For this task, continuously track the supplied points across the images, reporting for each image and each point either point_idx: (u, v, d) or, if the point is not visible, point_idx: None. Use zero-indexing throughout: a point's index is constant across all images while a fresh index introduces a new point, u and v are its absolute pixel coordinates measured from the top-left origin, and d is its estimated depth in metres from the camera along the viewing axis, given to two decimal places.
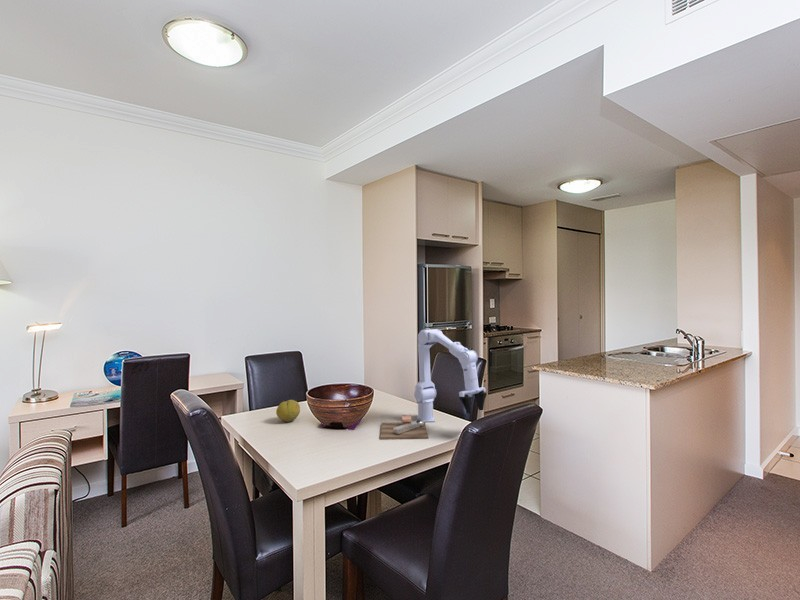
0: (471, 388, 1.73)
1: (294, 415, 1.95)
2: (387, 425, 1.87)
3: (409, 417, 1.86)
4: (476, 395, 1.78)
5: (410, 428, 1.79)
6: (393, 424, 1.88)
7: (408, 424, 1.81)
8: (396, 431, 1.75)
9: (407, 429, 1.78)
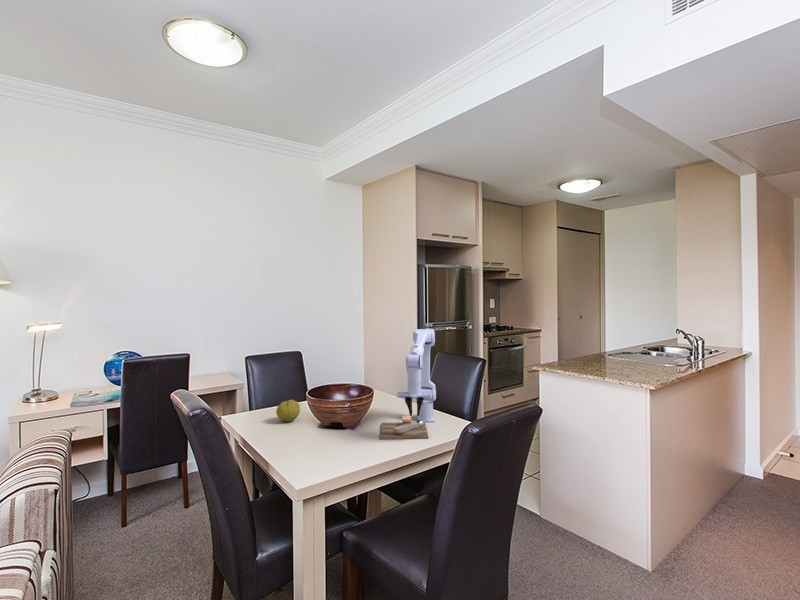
0: (408, 392, 1.72)
1: (294, 415, 1.95)
2: (387, 425, 1.87)
3: (409, 417, 1.86)
4: None
5: (410, 428, 1.79)
6: (393, 424, 1.88)
7: (408, 424, 1.81)
8: (396, 431, 1.75)
9: (407, 429, 1.78)
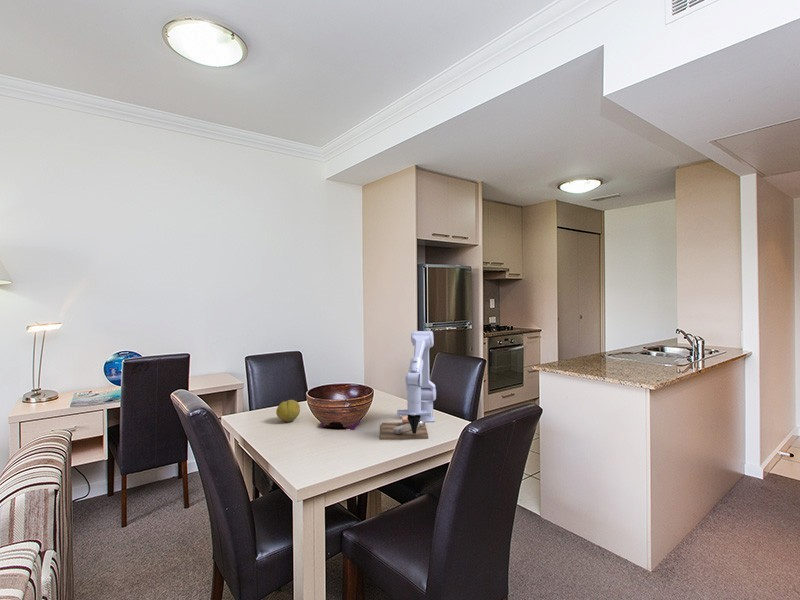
0: (408, 410, 1.72)
1: (294, 415, 1.95)
2: (387, 425, 1.87)
3: None
4: (415, 417, 1.75)
5: (410, 428, 1.79)
6: (393, 424, 1.88)
7: (408, 424, 1.81)
8: (396, 431, 1.75)
9: (407, 429, 1.78)
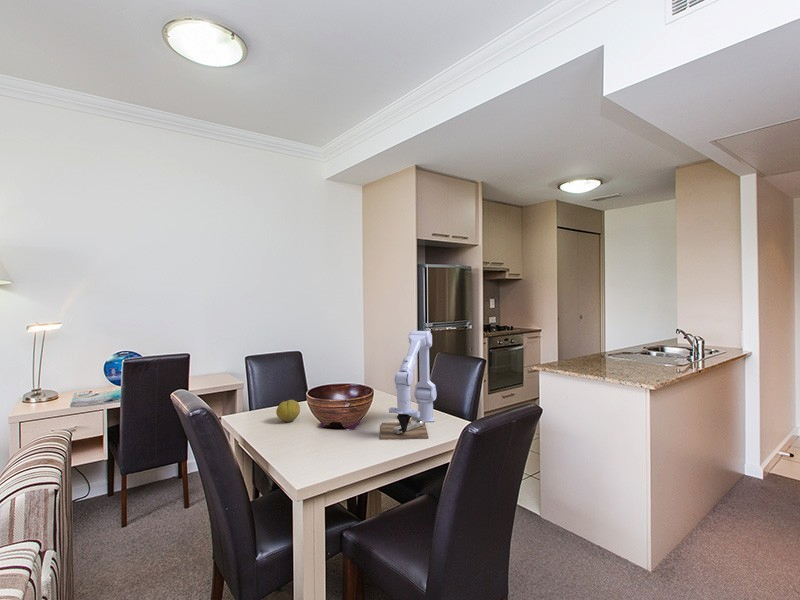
0: (397, 408, 1.75)
1: (294, 415, 1.95)
2: (387, 425, 1.87)
3: None
4: None
5: (410, 428, 1.79)
6: (393, 424, 1.88)
7: (408, 424, 1.81)
8: (396, 431, 1.75)
9: (407, 429, 1.78)
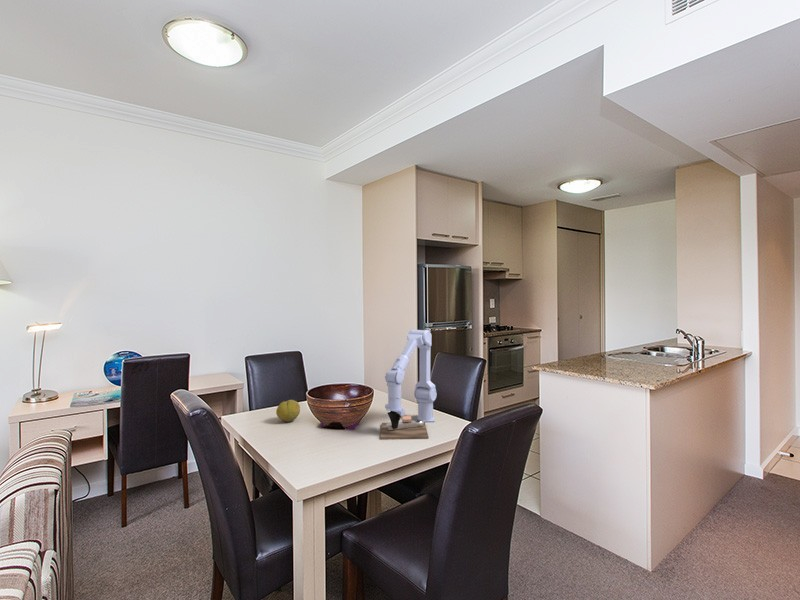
0: None
1: (294, 415, 1.95)
2: None
3: (409, 417, 1.86)
4: None
5: (404, 426, 1.82)
6: None
7: (404, 422, 1.83)
8: (387, 427, 1.80)
9: (400, 427, 1.81)
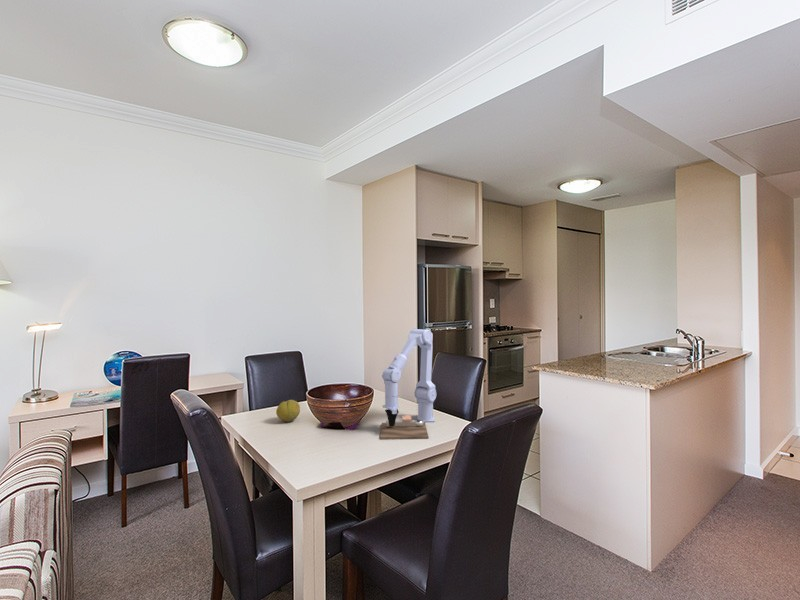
0: None
1: (294, 415, 1.95)
2: None
3: (409, 417, 1.86)
4: None
5: (402, 425, 1.84)
6: None
7: None
8: None
9: (398, 425, 1.84)
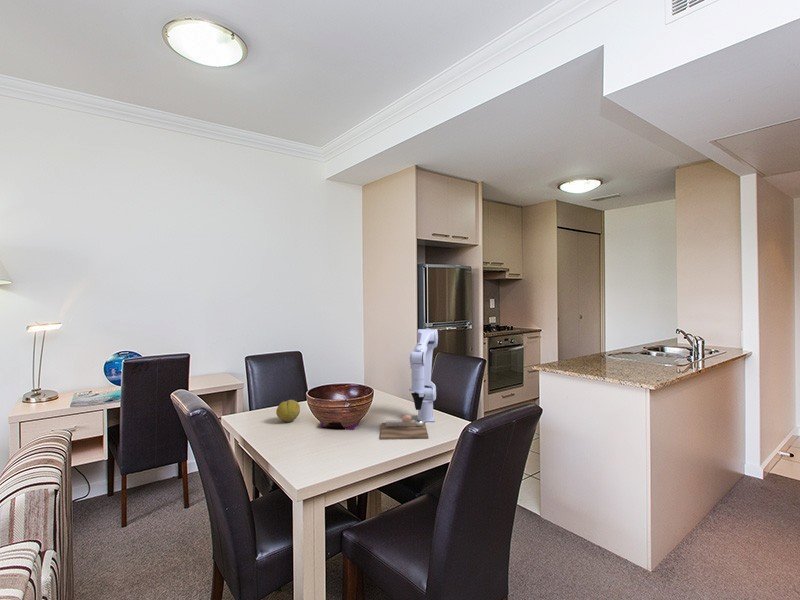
0: None
1: (294, 415, 1.95)
2: None
3: (409, 417, 1.86)
4: None
5: (402, 425, 1.84)
6: None
7: None
8: None
9: (398, 425, 1.84)
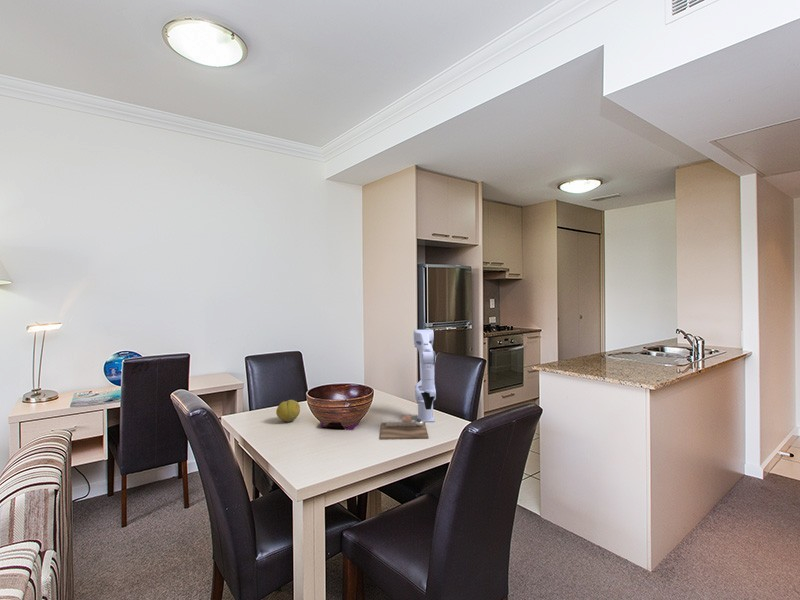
0: None
1: (294, 415, 1.95)
2: None
3: (409, 417, 1.86)
4: None
5: (402, 425, 1.84)
6: None
7: None
8: None
9: (398, 425, 1.84)
